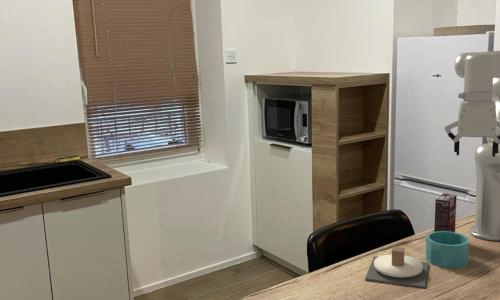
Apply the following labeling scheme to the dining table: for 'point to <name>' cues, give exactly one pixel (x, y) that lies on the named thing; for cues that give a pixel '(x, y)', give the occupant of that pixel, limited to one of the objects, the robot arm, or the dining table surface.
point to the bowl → (447, 249)
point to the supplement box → (445, 213)
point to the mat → (405, 281)
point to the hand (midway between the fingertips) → (475, 155)
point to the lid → (398, 264)
